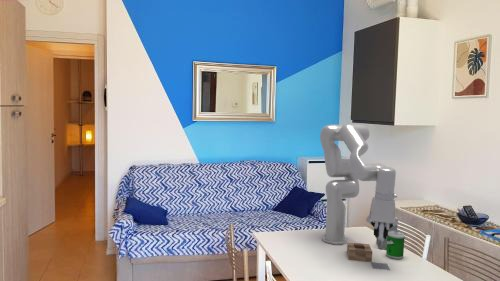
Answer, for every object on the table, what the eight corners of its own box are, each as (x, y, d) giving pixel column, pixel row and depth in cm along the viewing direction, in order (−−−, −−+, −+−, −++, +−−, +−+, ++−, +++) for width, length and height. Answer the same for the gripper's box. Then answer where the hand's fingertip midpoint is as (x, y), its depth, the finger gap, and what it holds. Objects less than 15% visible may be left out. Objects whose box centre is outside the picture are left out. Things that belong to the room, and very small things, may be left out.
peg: (375, 242, 172) (377, 220, 171) (382, 243, 172) (384, 221, 170) (376, 245, 169) (378, 222, 168) (383, 245, 169) (386, 223, 167)
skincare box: (378, 248, 193) (380, 217, 191) (377, 244, 200) (378, 213, 198) (396, 250, 191) (398, 218, 189) (394, 245, 198) (396, 215, 196)
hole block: (346, 252, 186) (347, 242, 186) (368, 254, 184) (369, 244, 184) (348, 260, 176) (349, 249, 176) (371, 262, 175) (372, 251, 174)
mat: (370, 262, 174) (370, 262, 174) (387, 264, 173) (387, 263, 173) (372, 269, 167) (372, 268, 167) (390, 270, 166) (390, 269, 166)
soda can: (402, 255, 184) (403, 230, 183) (404, 261, 177) (405, 235, 176) (385, 253, 186) (386, 228, 185) (386, 259, 179) (388, 233, 178)
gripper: (402, 195, 170) (398, 236, 172) (363, 192, 173) (360, 232, 175) (406, 200, 163) (401, 242, 165) (365, 196, 165) (361, 238, 168)
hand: (380, 236), depth 170 cm, fingers closed on peg, 3 cm apart
